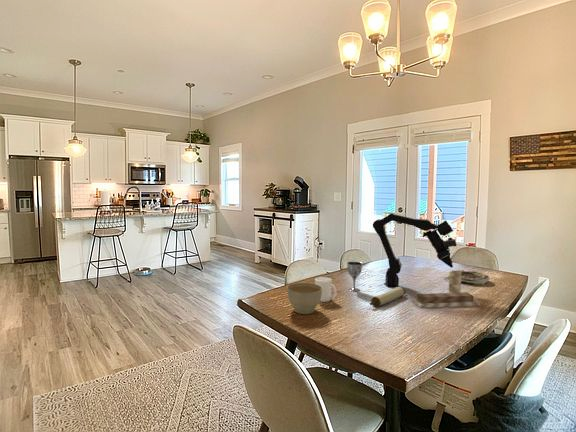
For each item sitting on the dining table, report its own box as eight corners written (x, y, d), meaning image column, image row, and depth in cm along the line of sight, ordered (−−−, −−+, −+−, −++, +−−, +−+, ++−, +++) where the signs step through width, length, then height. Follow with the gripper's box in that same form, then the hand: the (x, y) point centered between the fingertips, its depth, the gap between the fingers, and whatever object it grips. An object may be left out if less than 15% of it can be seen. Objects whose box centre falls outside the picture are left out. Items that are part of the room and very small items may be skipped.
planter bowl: (311, 320, 144) (312, 295, 143) (280, 312, 152) (280, 289, 152) (327, 308, 158) (328, 285, 157) (298, 302, 166) (298, 280, 165)
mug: (340, 300, 168) (341, 280, 167) (331, 305, 162) (331, 284, 161) (321, 295, 176) (321, 276, 175) (311, 299, 170) (311, 279, 169)
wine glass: (352, 292, 181) (353, 265, 179) (343, 288, 188) (344, 262, 186) (364, 290, 184) (365, 263, 183) (355, 287, 191) (355, 261, 190)
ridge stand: (420, 307, 159) (420, 298, 159) (411, 301, 168) (411, 292, 168) (479, 305, 162) (480, 296, 162) (467, 299, 171) (468, 291, 171)
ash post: (448, 296, 176) (449, 271, 175) (451, 294, 179) (452, 270, 178) (457, 298, 173) (458, 273, 172) (460, 296, 176) (461, 271, 175)
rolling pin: (375, 310, 156) (375, 300, 155) (365, 307, 160) (365, 297, 159) (409, 295, 178) (409, 286, 177) (399, 293, 182) (399, 283, 181)
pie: (482, 276, 217) (483, 268, 216) (505, 289, 190) (506, 281, 189) (437, 274, 220) (437, 267, 219) (453, 288, 193) (454, 279, 192)
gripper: (450, 235, 172) (467, 262, 170) (449, 231, 189) (465, 255, 187) (430, 245, 176) (446, 271, 174) (430, 240, 193) (446, 264, 191)
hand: (451, 265), depth 181 cm, fingers open, 9 cm apart
